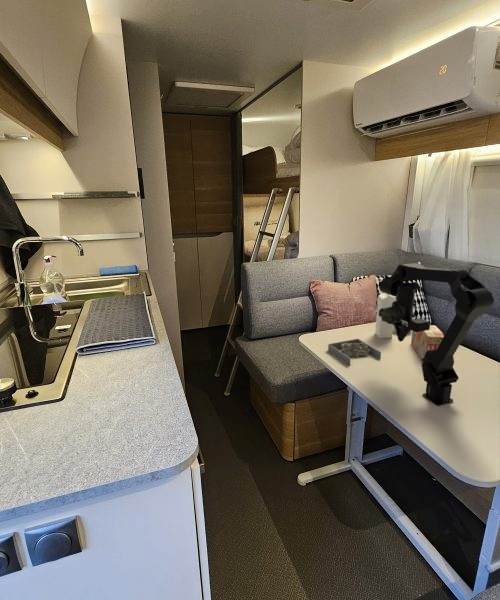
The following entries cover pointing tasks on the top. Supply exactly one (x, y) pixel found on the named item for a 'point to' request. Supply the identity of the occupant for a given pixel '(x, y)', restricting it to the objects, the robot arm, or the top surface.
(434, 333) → the stack of blocks
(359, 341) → the box
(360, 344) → the egg carton
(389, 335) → the milk
